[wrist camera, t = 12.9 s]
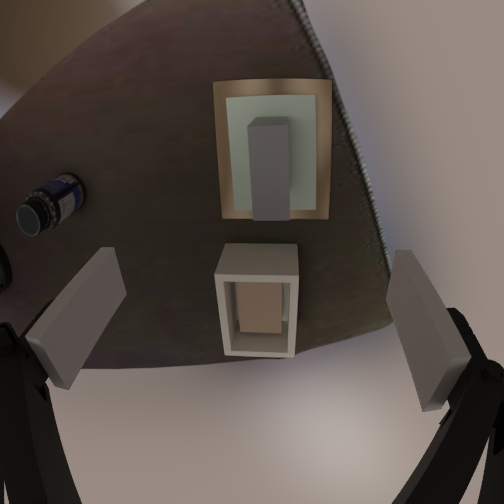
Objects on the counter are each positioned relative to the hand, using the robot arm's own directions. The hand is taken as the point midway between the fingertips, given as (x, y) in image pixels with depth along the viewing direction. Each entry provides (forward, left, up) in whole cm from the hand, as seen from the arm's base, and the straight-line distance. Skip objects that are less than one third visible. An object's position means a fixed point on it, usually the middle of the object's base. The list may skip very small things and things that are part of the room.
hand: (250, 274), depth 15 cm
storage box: (-2, -20, -28) cm, 34 cm away
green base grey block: (0, 0, -26) cm, 26 cm away
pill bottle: (-31, -4, -28) cm, 42 cm away
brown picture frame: (0, 0, -28) cm, 28 cm away
